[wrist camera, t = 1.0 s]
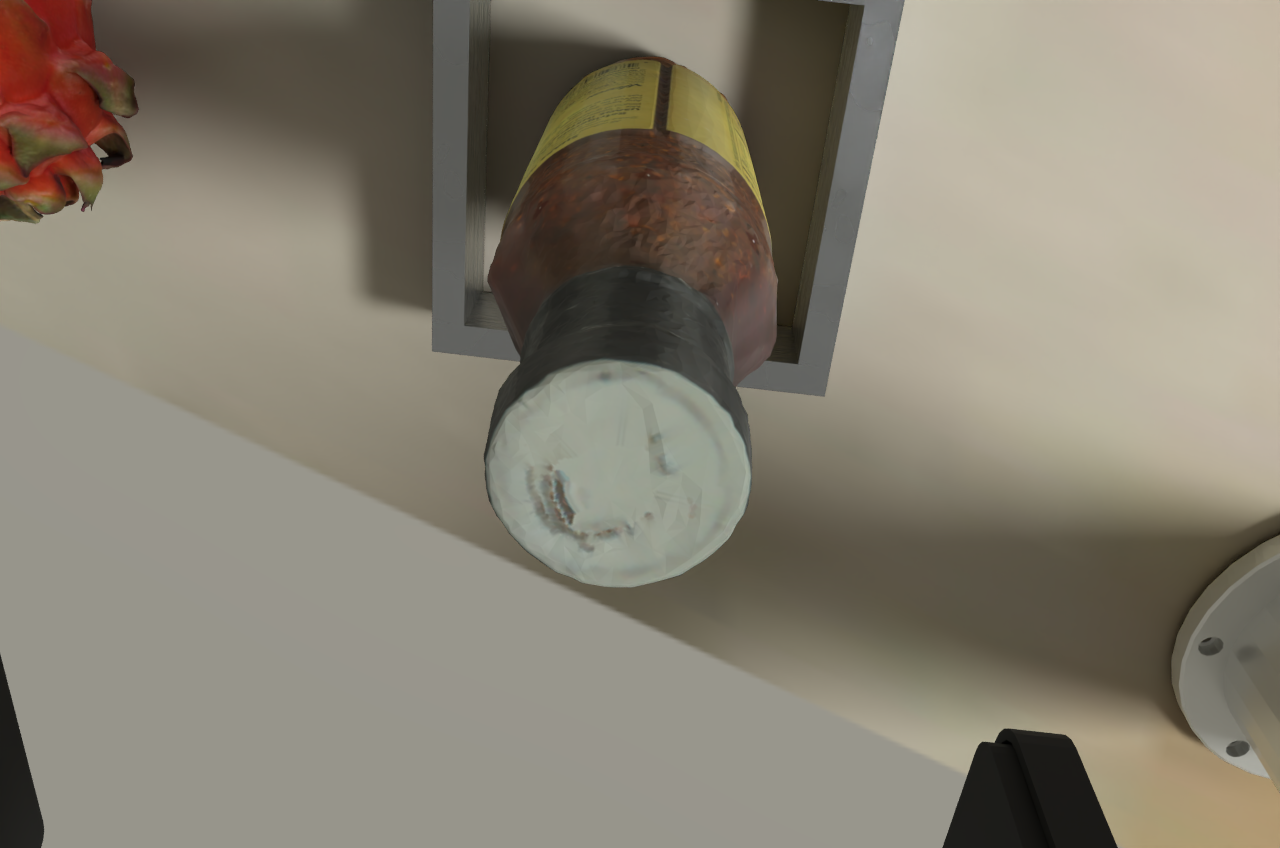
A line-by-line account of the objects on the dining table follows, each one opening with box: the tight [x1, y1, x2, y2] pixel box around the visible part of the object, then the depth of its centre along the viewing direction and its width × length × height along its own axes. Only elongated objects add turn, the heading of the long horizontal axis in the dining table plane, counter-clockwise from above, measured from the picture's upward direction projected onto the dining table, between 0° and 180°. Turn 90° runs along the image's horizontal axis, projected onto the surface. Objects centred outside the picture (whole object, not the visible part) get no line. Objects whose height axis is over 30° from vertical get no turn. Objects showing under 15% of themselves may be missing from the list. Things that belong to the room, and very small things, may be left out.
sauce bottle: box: [484, 57, 778, 587], centre depth 24 cm, size 7×6×20 cm
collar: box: [432, 0, 905, 396], centre depth 32 cm, size 12×12×3 cm
